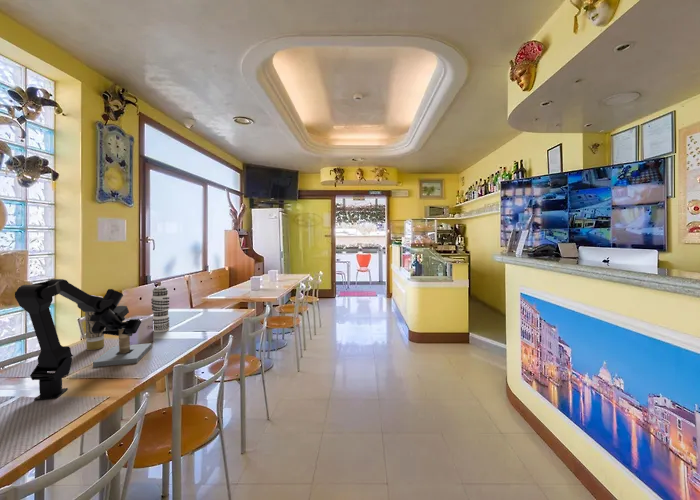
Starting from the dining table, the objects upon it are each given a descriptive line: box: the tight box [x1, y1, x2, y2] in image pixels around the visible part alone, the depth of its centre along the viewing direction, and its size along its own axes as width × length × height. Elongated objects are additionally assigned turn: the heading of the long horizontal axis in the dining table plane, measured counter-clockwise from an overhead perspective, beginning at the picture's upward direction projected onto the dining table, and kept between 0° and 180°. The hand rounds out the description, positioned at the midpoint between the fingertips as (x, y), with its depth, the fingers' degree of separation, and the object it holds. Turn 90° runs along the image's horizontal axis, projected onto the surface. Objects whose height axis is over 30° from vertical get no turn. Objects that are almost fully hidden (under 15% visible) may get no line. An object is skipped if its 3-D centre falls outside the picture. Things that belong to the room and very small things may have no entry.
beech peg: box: [118, 320, 131, 354], centre depth 145 cm, size 4×4×16 cm
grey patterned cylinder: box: [84, 295, 105, 351], centre depth 155 cm, size 7×7×25 cm
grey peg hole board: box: [92, 342, 153, 368], centre depth 146 cm, size 20×16×2 cm
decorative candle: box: [150, 286, 171, 333], centre depth 185 cm, size 9×9×25 cm
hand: (126, 335), depth 147 cm, fingers open, 5 cm apart
